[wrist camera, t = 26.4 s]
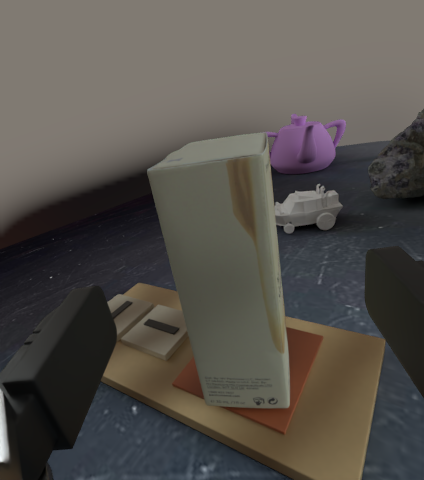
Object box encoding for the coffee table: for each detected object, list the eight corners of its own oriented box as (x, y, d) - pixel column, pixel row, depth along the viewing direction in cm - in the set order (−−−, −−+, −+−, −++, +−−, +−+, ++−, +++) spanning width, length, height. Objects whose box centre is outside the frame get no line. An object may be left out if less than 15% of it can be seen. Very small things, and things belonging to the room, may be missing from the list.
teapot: (296, 157, 67) (293, 112, 63) (357, 161, 56) (358, 107, 53) (254, 172, 61) (248, 124, 58) (313, 180, 51) (311, 121, 47)
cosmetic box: (292, 413, 15) (266, 153, 10) (203, 409, 16) (139, 171, 11) (287, 322, 21) (269, 126, 16) (221, 323, 22) (185, 139, 17)
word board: (55, 358, 23) (48, 343, 22) (141, 289, 30) (137, 276, 29) (355, 511, 12) (356, 491, 12) (384, 349, 19) (386, 330, 18)
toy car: (346, 227, 34) (346, 190, 32) (270, 238, 35) (266, 202, 33) (332, 211, 38) (332, 178, 36) (265, 221, 39) (261, 189, 37)
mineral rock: (372, 212, 36) (376, 119, 32) (346, 185, 46) (347, 111, 41) (502, 197, 34) (525, 95, 30) (446, 172, 43) (457, 92, 39)
